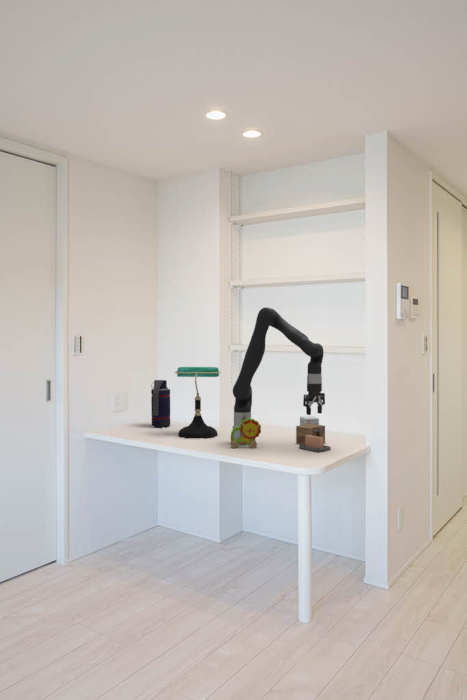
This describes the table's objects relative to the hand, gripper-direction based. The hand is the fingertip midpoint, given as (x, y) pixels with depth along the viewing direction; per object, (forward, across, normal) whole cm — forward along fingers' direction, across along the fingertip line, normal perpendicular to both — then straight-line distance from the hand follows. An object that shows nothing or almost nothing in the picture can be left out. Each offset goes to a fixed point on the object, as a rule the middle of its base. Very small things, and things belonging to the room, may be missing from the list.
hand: (314, 414), depth 293 cm
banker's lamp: (+19, +18, -72) cm, 77 cm away
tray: (+18, 0, 0) cm, 18 cm away
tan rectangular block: (+18, 0, 0) cm, 18 cm away
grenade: (+19, +16, -113) cm, 116 cm away
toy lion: (+19, +22, -27) cm, 40 cm away
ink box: (+18, -24, -24) cm, 38 cm away
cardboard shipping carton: (+18, -11, -12) cm, 24 cm away
